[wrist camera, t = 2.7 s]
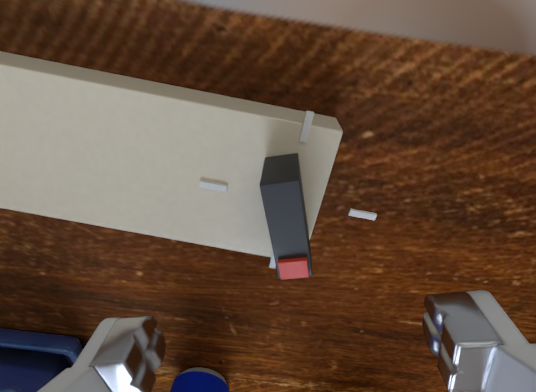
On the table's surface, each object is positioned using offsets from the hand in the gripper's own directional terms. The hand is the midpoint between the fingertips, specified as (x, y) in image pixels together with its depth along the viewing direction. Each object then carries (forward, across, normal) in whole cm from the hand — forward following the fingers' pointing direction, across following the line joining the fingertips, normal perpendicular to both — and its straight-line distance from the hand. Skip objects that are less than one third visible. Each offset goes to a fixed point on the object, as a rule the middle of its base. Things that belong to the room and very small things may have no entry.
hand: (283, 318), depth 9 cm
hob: (+10, +5, -2) cm, 11 cm away
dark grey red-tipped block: (+7, 0, 0) cm, 7 cm away
